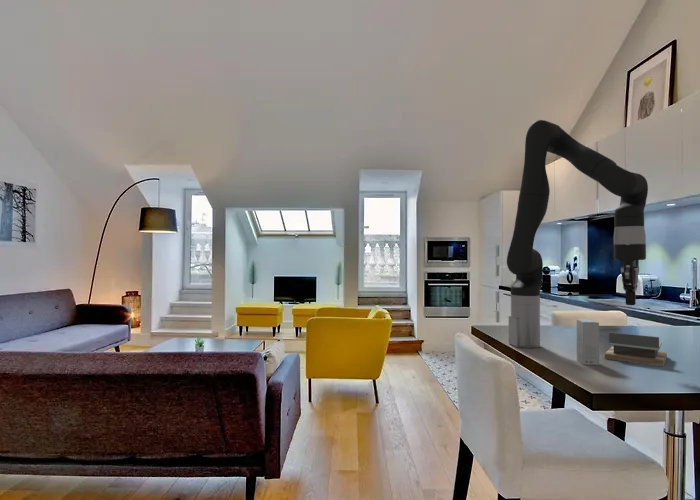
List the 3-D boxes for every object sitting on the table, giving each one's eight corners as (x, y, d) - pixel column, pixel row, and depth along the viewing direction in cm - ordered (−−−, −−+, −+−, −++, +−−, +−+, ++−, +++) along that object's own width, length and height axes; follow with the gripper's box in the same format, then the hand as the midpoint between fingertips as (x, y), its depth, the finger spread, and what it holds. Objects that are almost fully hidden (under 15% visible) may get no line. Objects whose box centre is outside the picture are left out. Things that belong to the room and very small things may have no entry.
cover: (658, 350, 117) (658, 337, 117) (609, 344, 125) (609, 332, 125) (662, 343, 127) (662, 331, 127) (615, 338, 134) (615, 327, 134)
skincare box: (599, 365, 117) (599, 322, 117) (583, 364, 118) (582, 322, 118) (592, 360, 123) (591, 319, 123) (576, 359, 124) (575, 318, 124)
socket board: (663, 366, 116) (663, 351, 116) (604, 358, 125) (604, 345, 125) (666, 357, 127) (666, 343, 127) (612, 350, 136) (612, 338, 136)
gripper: (617, 244, 126) (618, 302, 125) (609, 242, 115) (611, 306, 115) (648, 243, 121) (649, 303, 120) (643, 242, 111) (644, 308, 110)
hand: (630, 304), depth 118 cm, fingers closed
